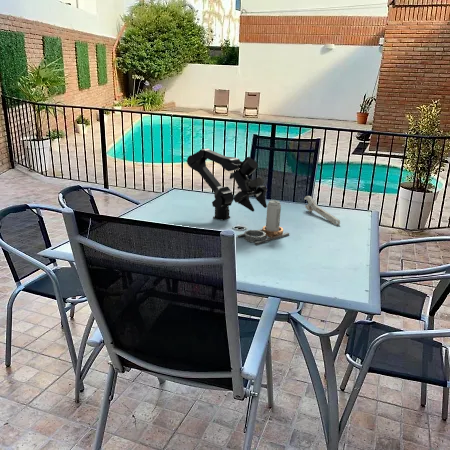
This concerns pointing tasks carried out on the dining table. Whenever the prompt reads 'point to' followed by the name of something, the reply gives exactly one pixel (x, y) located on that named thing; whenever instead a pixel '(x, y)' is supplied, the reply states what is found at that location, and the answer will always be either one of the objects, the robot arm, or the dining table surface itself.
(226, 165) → the robot arm
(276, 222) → the energy drink can
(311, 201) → the wrench
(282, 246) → the dining table surface
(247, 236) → the socket rail
